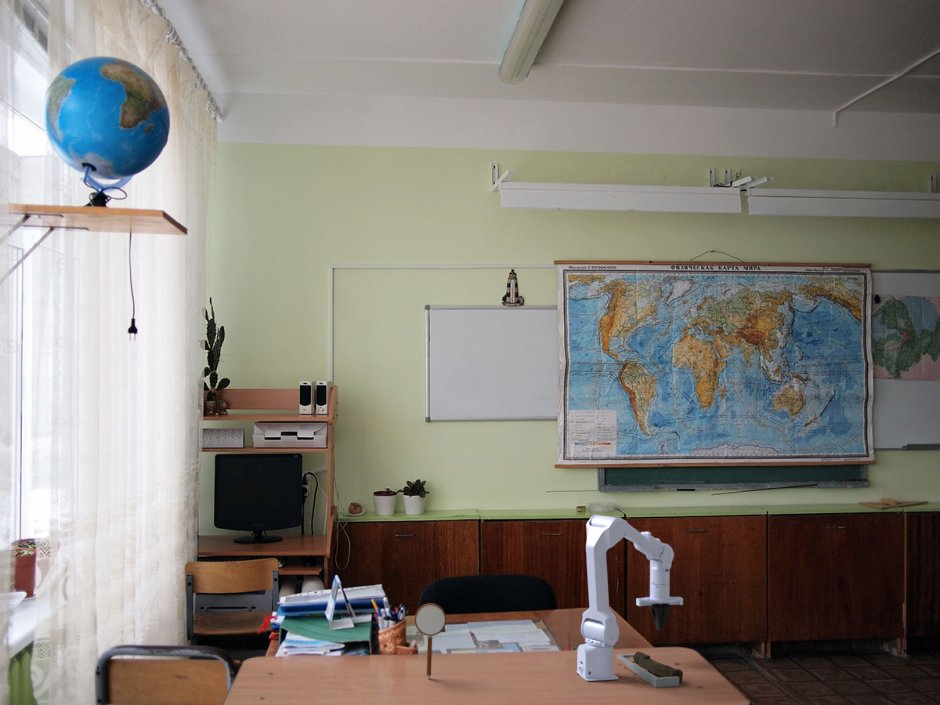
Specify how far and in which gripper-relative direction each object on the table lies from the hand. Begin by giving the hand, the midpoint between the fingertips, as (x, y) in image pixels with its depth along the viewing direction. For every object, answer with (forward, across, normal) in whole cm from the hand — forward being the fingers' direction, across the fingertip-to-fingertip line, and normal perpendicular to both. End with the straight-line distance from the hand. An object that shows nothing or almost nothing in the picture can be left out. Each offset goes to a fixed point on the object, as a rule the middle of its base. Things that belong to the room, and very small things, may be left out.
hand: (659, 629), depth 247 cm
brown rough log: (+10, +8, +11) cm, 17 cm away
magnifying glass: (+10, +71, +3) cm, 72 cm away
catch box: (+9, +9, +10) cm, 16 cm away
